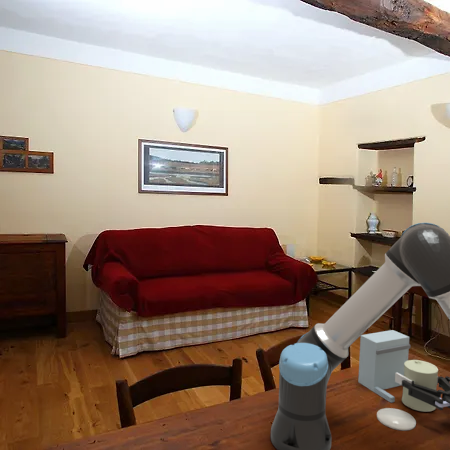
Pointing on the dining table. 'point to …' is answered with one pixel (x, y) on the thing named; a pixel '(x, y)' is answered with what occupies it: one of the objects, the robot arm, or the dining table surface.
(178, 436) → the dining table surface
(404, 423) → the coaster
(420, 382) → the can
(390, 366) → the pale blue footed box
